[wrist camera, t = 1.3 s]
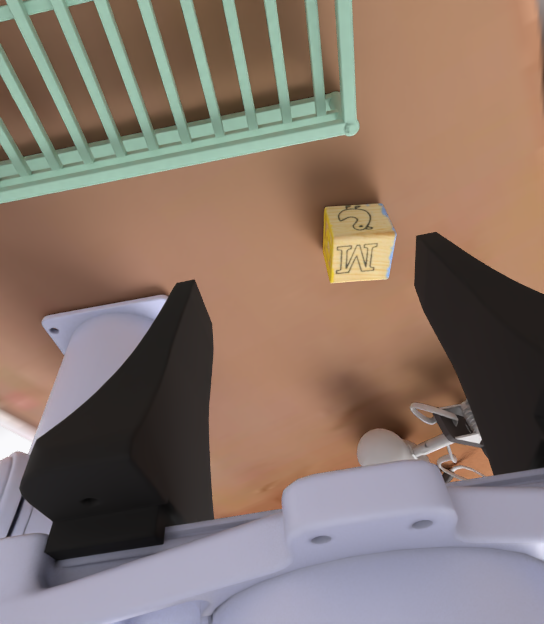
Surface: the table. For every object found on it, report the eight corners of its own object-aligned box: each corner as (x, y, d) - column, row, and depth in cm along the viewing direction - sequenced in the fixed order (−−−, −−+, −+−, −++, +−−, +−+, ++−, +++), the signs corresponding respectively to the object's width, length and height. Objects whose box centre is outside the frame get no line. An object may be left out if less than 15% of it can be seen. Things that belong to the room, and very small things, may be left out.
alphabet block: (375, 248, 25) (389, 282, 23) (321, 253, 25) (330, 286, 23) (381, 200, 23) (398, 231, 21) (323, 205, 23) (333, 236, 21)
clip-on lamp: (492, 428, 45) (478, 360, 31) (530, 490, 41) (534, 444, 27) (387, 473, 48) (330, 429, 34) (413, 535, 44) (362, 514, 30)
